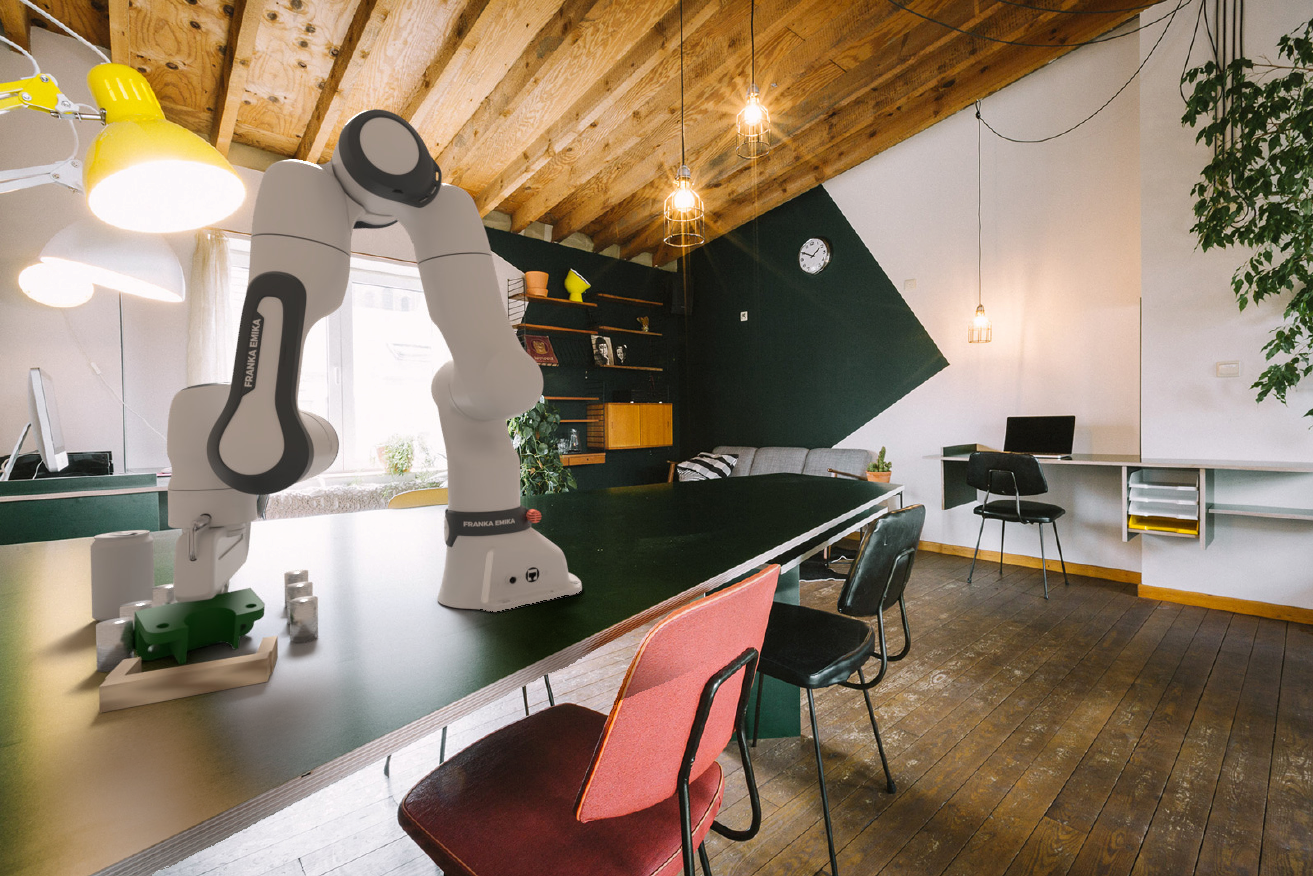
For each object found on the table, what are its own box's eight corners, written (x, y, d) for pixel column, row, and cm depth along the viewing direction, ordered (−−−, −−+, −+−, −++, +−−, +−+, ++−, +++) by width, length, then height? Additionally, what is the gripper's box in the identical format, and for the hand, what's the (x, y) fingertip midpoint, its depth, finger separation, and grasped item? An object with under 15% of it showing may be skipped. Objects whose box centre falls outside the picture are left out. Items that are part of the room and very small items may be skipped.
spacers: (324, 598, 85) (323, 567, 85) (317, 640, 69) (316, 601, 69) (146, 622, 75) (146, 586, 75) (88, 677, 59) (87, 631, 58)
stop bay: (277, 656, 64) (277, 635, 64) (269, 681, 58) (269, 657, 58) (124, 682, 57) (123, 659, 57) (96, 713, 51) (96, 687, 51)
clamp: (167, 702, 62) (128, 646, 58) (153, 675, 65) (114, 620, 61) (282, 634, 70) (254, 581, 66) (264, 613, 73) (236, 562, 69)
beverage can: (115, 626, 74) (113, 538, 73) (79, 623, 75) (77, 536, 75) (166, 610, 80) (165, 529, 80) (132, 608, 81) (130, 528, 81)
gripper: (226, 519, 62) (228, 640, 62) (258, 498, 80) (259, 591, 80) (153, 524, 59) (155, 650, 59) (203, 501, 77) (205, 598, 77)
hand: (215, 616), depth 70 cm, fingers closed
